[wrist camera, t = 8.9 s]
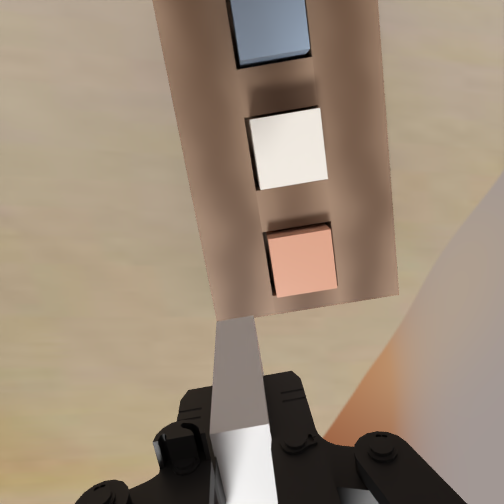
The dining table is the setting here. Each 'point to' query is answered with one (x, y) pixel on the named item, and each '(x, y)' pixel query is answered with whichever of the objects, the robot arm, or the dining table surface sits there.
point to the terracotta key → (302, 259)
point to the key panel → (243, 161)
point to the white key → (289, 148)
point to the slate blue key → (269, 31)
